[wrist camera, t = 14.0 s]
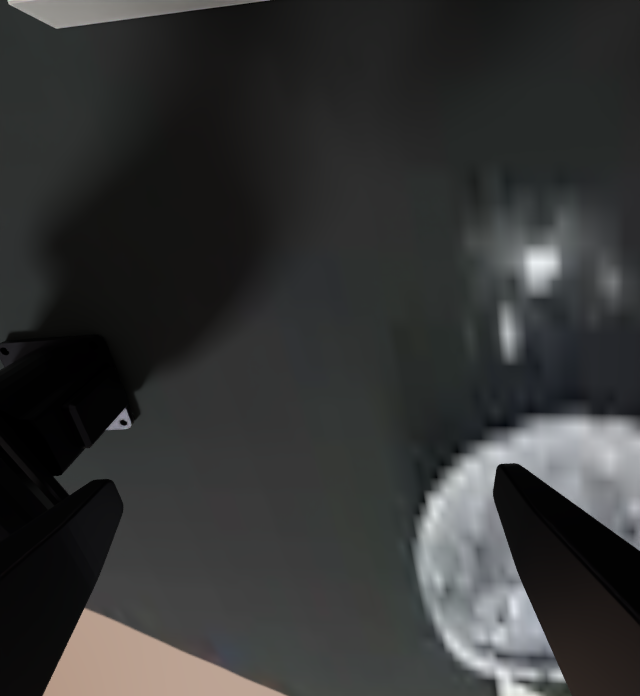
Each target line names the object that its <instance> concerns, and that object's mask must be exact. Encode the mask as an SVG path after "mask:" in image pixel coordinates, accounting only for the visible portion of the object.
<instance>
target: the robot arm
mask: <svg viewBox="0 0 640 696" xmlns="http://www.w3.org/2000/svg"><path fill="white" fill-rule="evenodd" d="M93 342H95V343H97V345H98V346H96V345H94V343H93ZM7 350H8V351H7ZM0 359H1V361H2V363H3V365H4V367H5V368H3V369H1V370H0V696H43V694H44V692H45V689H46V687H47V685H48V683H49V681H50V679H51V677H52V675H53V673H54V671H55V668H56V666H57V664H58V662H59V660H60V658H61V656H62V654H63V652H64V649H65V647H66V645H67V643H68V641H69V639H70V637H71V635H72V633H73V630H74V629H75V626H76V624H77V622H78V620H79V618H80V616H81V614H82V612H83V610H84V608H85V606H86V603H87V601H88V599H89V597H90V595H91V593H92V591H93V589H94V586H95V584H96V582H97V580H98V577H99V575H100V572H101V570H102V567H103V565H104V562H105V559H106V557H107V554H108V551H109V549H110V546H111V543H112V541H113V538H114V535H115V532H116V530H117V527H118V524H119V522H120V519H121V516H122V513H123V502H122V500H121V497H120V495H119V493H118V491H117V488H116V486H115V484H114V482H113V481H112V480H109V479H101V480H93V481H91V482H89V483H88V484H86V485H85V486H83V487H82V488H80V489H79V490H77V491H76V492H74V493H73V494H71V495H69V494H68V493H67V492H66V491H65V490H64V488H63V487H62V486H61V485H60V484H59V483H58V481H57V480H56V479H55V478H54V477H53V476H59V475H62V474H63V473H64V471H65V470H66V469H67V468H68V467H69V466H70V465H71V464H72V463H73V461H74V460H75V459H76V458H77V457H78V456H79V455H80V454H81V453H82V452H83V450H84V449H85V448H90V447H91V446H92V445H93V444H94V443H95V442H96V441H97V439H98V438H99V437H100V436H101V435H102V434H103V433H104V432H105V430H116V429H128V428H130V427H131V426H132V424H133V423H134V417H133V414H132V412H131V409H130V406H129V402H128V400H127V397H126V394H125V392H124V389H123V386H122V383H121V381H120V378H119V375H118V373H117V370H116V369H115V366H114V363H113V361H112V358H111V355H110V353H109V350H108V347H107V344H106V342H105V340H104V339H103V338H102V337H101V336H99V335H83V336H69V337H54V338H40V339H26V340H11V341H4V342H2V343H0ZM124 420H126V421H127V422H125V421H124ZM493 497H494V502H495V505H496V508H497V511H498V514H499V517H500V520H501V523H502V526H503V529H504V532H505V536H506V539H507V542H508V545H509V548H510V551H511V554H512V557H513V560H514V563H515V566H516V569H517V572H518V574H519V576H520V579H521V581H522V584H523V586H524V588H525V590H526V593H527V595H528V597H529V599H530V602H531V604H532V606H533V609H534V611H535V613H536V615H537V618H538V620H539V622H540V624H541V627H542V629H543V631H544V633H545V636H546V638H547V640H548V642H549V645H550V647H551V649H552V651H553V654H554V656H555V658H556V661H557V663H558V665H559V667H560V670H561V672H562V674H563V676H564V679H565V681H566V683H567V685H568V688H569V690H570V692H571V694H572V696H640V551H639V550H637V549H636V548H635V547H633V546H632V545H631V544H629V543H628V542H626V541H625V540H624V539H622V538H621V537H619V536H618V535H617V534H615V533H614V532H613V531H611V530H610V529H608V528H607V527H606V526H604V525H603V524H601V523H600V522H599V521H597V520H596V519H594V518H593V517H592V516H590V515H589V514H588V513H586V512H585V511H583V510H582V509H581V508H579V507H578V506H576V505H575V504H574V503H572V502H571V501H569V500H568V499H567V498H565V497H564V496H563V495H561V494H560V493H558V492H557V491H556V490H554V489H553V488H551V487H550V486H549V485H547V484H546V483H544V482H543V481H542V480H540V479H539V478H538V477H536V476H535V475H533V474H532V473H531V472H529V471H528V470H526V469H525V468H524V467H522V466H521V465H519V464H515V463H513V464H500V465H498V467H497V469H496V476H495V482H494V489H493Z"/></svg>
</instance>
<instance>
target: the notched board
mask: <svg viewBox="0 0 640 696" xmlns="http://www.w3.org/2000/svg"><path fill="white" fill-rule="evenodd" d="M261 1H268V0H8V3H9V5H11V6H13V7H15V8H17V9H19V10H21V11H23V12H25V13H27V14H29V15H31V16H33V17H35V18H36V19H38V20H40V21H42V22H44V23H46V24H48V25H50V26H52V27H54V28H56V29H58V28H66V27H73V26H81V25H88V24H96V23H103V22H111V21H118V20H126V19H133V18H141V17H148V16H156V15H163V14H171V13H178V12H186V11H193V10H201V9H208V8H216V7H223V6H231V5H238V4H246V3H253V2H261Z"/></svg>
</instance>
